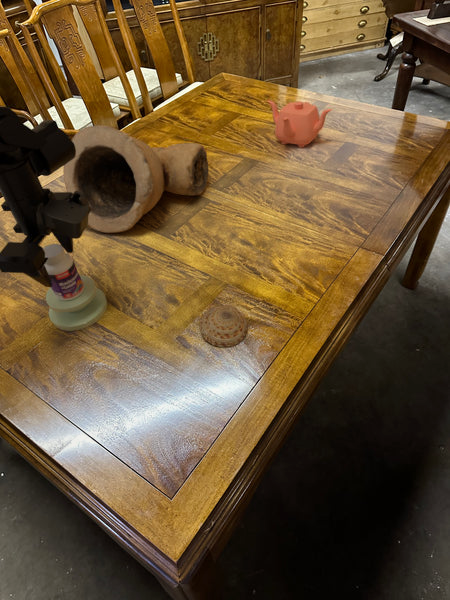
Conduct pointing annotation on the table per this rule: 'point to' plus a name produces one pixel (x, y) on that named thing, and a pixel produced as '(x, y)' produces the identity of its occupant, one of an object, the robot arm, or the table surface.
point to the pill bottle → (62, 273)
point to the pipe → (130, 175)
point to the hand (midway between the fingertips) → (60, 268)
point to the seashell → (223, 326)
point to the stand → (77, 307)
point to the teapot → (297, 122)
